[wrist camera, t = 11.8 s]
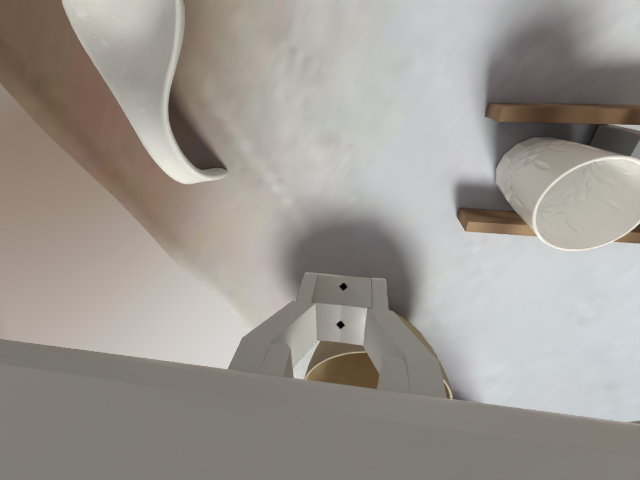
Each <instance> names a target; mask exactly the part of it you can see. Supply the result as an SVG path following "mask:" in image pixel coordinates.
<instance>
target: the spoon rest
mask: <svg viewBox="0 0 640 480" xmlns="http://www.w3.org/2000/svg"><path fill="white" fill-rule="evenodd" d="M62 3H63V6H64V9H65V12H66V14H67V16H68V19H69V21H70V23H71V25H72V27H73V29H74V31H75V33H76V35H77V37H78V39H79V40H80V42H81V44H82V45H83V47H84V49H85V50H86V52H87V54H88V55H89V57H90V58H91V60H92V61H93V63H94V65H95V66H96V68H97V69H98V71H99V72H100V74H101V75H102V77H103V79H104V80H105V82H106V83H107V85H108V86H109V88H110V89H111V91H112V93H113V94H114V96H115V98H116V99H117V101H118V102H119V104H120V106H121V107H122V109H123V111H124V113H125V114H126V116H127V118H128V119H129V121H130V123H131V124H132V126H133V128H134V130H135V131H136V133H137V135H138V137H139V138H140V140H141V142H142V144H143V145H144V147H145V148H146V150H147V151H148V153H149V154H150V155H151V157H152V158H153V159H154V161H155V162H156V163H157V164H158V165H159V166H160V167H161V169H162V170H163V171H164V172H165V173H166V174H168V175H169V176H170V177H171V178H172V179H174V180H176V181H178V182H180V183H184V184H193V183H198V182H203V181H211V180H217V179H221V178H223V177H225V176H227V175H228V172H227V171H226V170H225V169H222V168H211V169H206V170H200V169H198V168H196V167H195V166H194V165H192V164H191V163H190V162H189V160H188V159H187V158H186V157H185V155H184V154H183V152H182V151H181V149H180V148H179V146H178V144H177V142H176V140H175V138H174V135H173V133H172V130H171V127H170V122H169V116H168V102H169V94H170V89H171V84H172V80H173V77H174V73H175V69H176V65H177V62H178V58H179V54H180V51H181V47H182V42H183V36H184V30H185V7H184V0H62Z"/></svg>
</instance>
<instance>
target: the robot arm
mask: <svg viewBox="0 0 640 480" xmlns="http://www.w3.org/2000/svg"><path fill="white" fill-rule="evenodd" d="M317 340H319V341H331V342H341V343H348V344H355V345H363V346H364V349H365V350H366V352H367V354H368V355H369V357H370V359H371V361H372V362H373V364H374V366H375V368H376V369H377V371H378V373H379V380H378V386H377V389H372V388H364V387H357V386H349V385H342V384H334V383H327V382H319V381H312V380H304V379H297V378H294V376H293V368H294V367H295V365H296V364H297V363H298V362H299V361H300V360H301V359H302V358H303V356H304V355H305V354H306V353H307V352H308V351H309V350H310V349H311V347H312V346H313V345H314V344H315V343H316V342H317ZM0 480H640V424H634V423H627V422H620V421H612V420H604V419H597V418H589V417H582V416H575V415H567V414H560V413H552V412H545V411H537V410H530V409H522V408H515V407H507V406H500V405H492V404H485V403H477V402H470V401H462V400H455V399H447V396H446V391H445V387H444V383H443V378H442V374H441V370H440V365H439V361H438V360H437V359H436V358H435V357H434V356H433V355H432V353H431V352H430V351H429V350H428V349H427V348H426V347H425V346H424V345H423V344H422V342H421V341H420V340H419V339H418V338H417V337H416V336H415V335H414V334H413V333H412V331H411V330H410V329H409V328H408V327H407V326H406V325H405V324H404V323H403V322H402V321H401V319H400V318H399V317H398V316H397V315H396V314H395V313H394V312H393V311H389V309H388V296H387V284H386V279H385V278H366V277H352V276H342V275H332V274H323V273H311V272H306V273H305V274H304V276H303V280H302V283H301V286H300V289H299V293H298V296H297V299H296V302H295V301H292V302H290V303H289V304H287V305H286V306H285V307H283V308H282V309H281V310H279V311H278V312H277V313H275V314H274V315H273V316H271V317H270V318H269V319H267V320H266V321H264V322H263V323H262V324H260V325H259V326H258V327H256V328H255V329H254V330H252V331H251V332H250V333H248V334H247V335H246V336H244V337H243V338H242V340H241V342H240V344H239V346H238V348H237V350H236V353H235V355H234V357H233V359H232V361H231V363H230V365H229V368H228V369H221V368H213V367H207V366H199V365H191V364H184V363H176V362H169V361H161V360H154V359H146V358H139V357H131V356H124V355H116V354H108V353H101V352H94V351H86V350H78V349H71V348H63V347H56V346H48V345H40V344H33V343H24V342H18V341H10V340H2V339H0Z"/></svg>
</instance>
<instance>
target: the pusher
mask: <svg viewBox="0 0 640 480" xmlns="http://www.w3.org/2000/svg"><path fill="white" fill-rule="evenodd" d="M589 146H592V147H596V148H600V149H603V150H607V151H611V152H615V153H619V154H622V155H626V156H630V157H634V158H637V159H639V160H640V131H637V130H632V129H628V128H624V127H619V126H615V125H599V126H598V128H597V131H596V133H595V135H594V137H593V139H592V141H591V143H590V145H589Z"/></svg>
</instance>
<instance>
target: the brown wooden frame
mask: <svg viewBox="0 0 640 480" xmlns="http://www.w3.org/2000/svg"><path fill="white" fill-rule="evenodd" d="M485 116H486V117H488V118H491V119H493V120H496V121H498V122H532V123H577V124H622V125H640V105H601V104H532V103H489V105H488V108H487V112H486V115H485ZM457 218H458V220H459V221H460V223H461V225H462V226H463V228H464V230H465V231H468V232H482V233H497V234H511V235H525V236H537V235H536V234H535V233H534V232H533V230H532V229H531V228H530V227H529V226H528V225H527V224H526V222H525V221H524V220H523V219H522V218H521V217H520V216H519V214H518V213H517V212H516V211H501V210H484V209H467V208H460V209H459V212H458V216H457ZM613 242H626V243H640V224H639V225H637V226H636V227H635V228H634V229H633V230H631V231H630V232H629V233H627V234H626V235H624V236H623V237H621V238H619V239H617V240H615V241H613Z"/></svg>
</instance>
